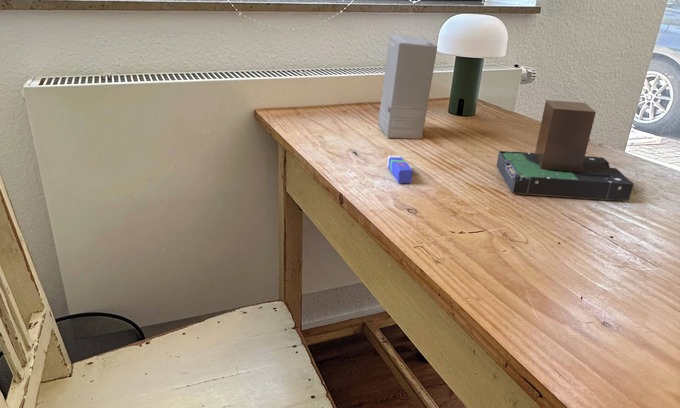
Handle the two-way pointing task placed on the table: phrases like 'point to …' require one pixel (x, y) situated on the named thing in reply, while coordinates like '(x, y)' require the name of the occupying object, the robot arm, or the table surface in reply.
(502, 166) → the disk drive
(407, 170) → the eraser
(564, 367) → the table surface
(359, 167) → the table surface
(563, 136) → the walnut block
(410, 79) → the cosmetic box
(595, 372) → the table surface
